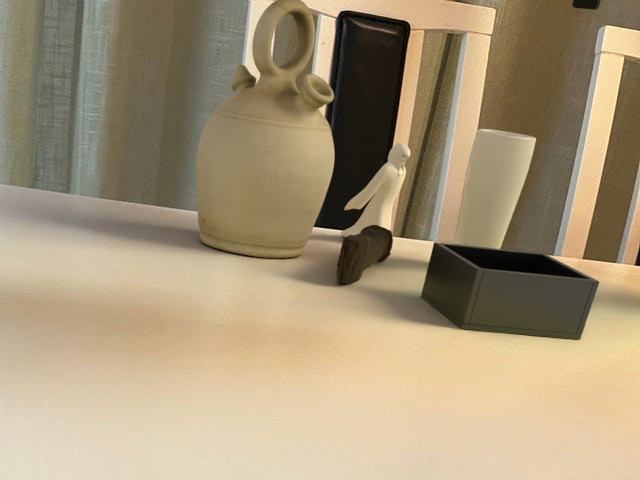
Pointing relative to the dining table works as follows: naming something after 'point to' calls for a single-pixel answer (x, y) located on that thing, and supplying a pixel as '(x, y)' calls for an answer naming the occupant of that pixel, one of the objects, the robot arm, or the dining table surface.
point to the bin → (508, 291)
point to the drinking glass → (492, 186)
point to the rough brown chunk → (363, 252)
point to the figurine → (380, 192)
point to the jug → (267, 150)
